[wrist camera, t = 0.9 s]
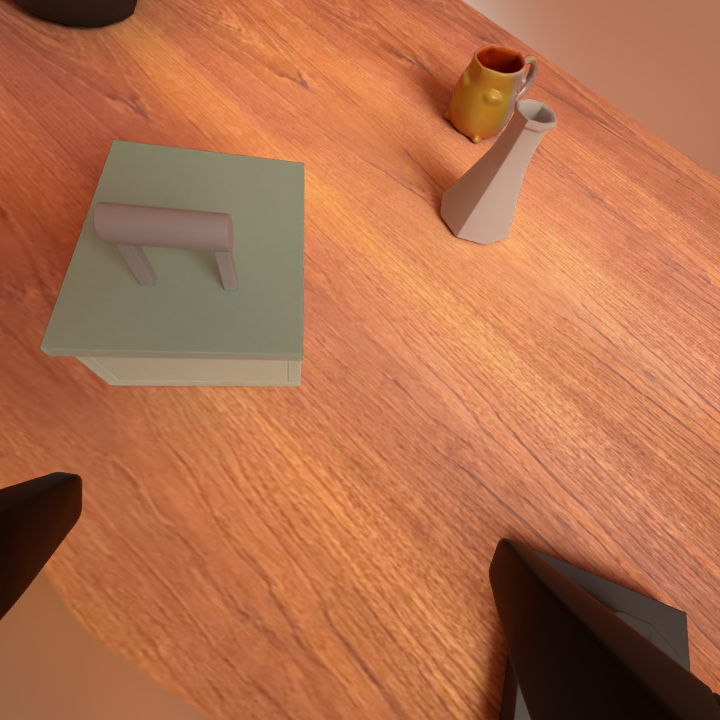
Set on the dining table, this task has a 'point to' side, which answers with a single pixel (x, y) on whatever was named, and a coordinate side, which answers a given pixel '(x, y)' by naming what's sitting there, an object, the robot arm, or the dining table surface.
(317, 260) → the dining table surface
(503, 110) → the mug
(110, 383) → the gray-green storage box
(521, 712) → the panel
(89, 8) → the pitcher
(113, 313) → the lid
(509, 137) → the flask
